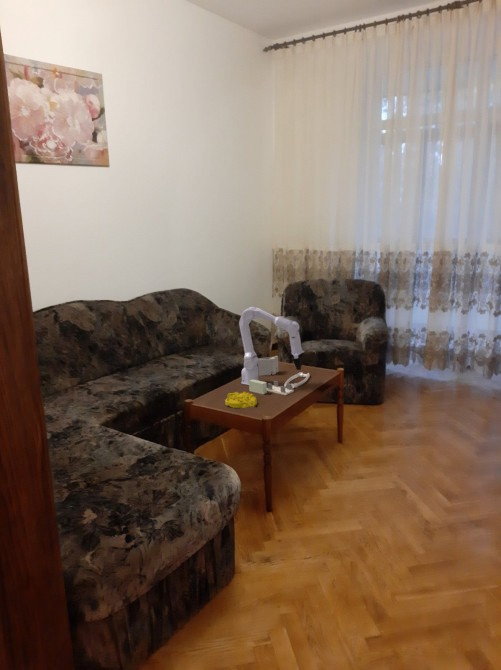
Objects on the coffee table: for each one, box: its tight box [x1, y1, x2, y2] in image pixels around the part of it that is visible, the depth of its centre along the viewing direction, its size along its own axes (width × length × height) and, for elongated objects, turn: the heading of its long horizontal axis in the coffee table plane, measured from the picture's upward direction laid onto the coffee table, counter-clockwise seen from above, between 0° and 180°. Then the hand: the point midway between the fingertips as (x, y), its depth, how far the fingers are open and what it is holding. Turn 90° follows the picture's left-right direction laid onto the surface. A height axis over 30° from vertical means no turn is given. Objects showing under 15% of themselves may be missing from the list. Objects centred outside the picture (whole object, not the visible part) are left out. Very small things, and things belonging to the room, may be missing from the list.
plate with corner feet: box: [267, 380, 295, 396], centre depth 271 cm, size 14×7×4 cm, turn 48°
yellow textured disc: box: [224, 391, 258, 409], centre depth 257 cm, size 16×16×4 cm
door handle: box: [283, 371, 310, 390], centre depth 285 cm, size 3×10×25 cm
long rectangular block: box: [248, 379, 268, 395], centre depth 271 cm, size 10×3×6 cm, turn 48°
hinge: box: [257, 355, 279, 377], centre depth 301 cm, size 14×5×10 cm, turn 105°
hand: (299, 367), depth 275 cm, fingers open, 7 cm apart
